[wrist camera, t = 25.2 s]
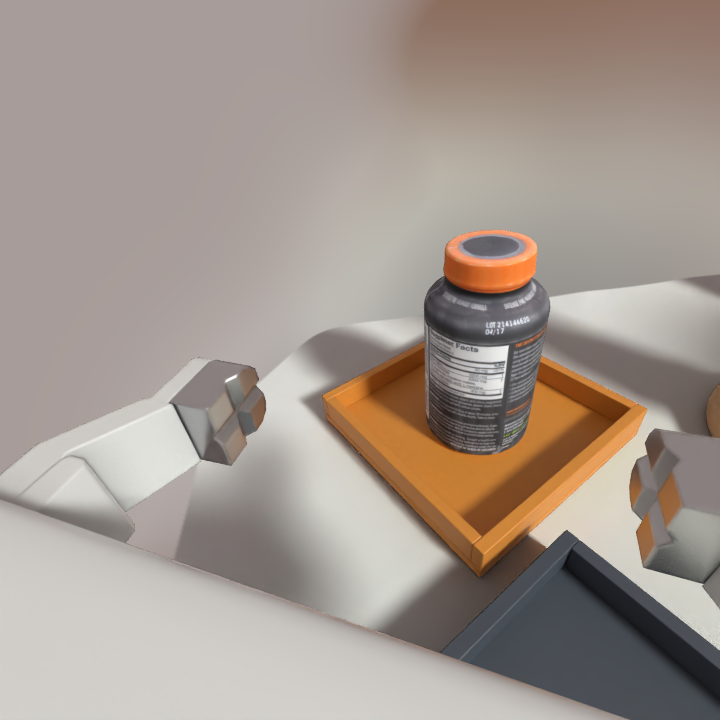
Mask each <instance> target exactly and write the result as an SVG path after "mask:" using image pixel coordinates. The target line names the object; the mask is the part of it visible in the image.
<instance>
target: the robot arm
mask: <svg viewBox="0 0 720 720" xmlns="http://www.w3.org/2000/svg"><path fill="white" fill-rule="evenodd" d="M258 380H259V378H258V375H257V372H256V370H255V368H253V367H251V366H247V365H242V364H236V363H231V362H225V361H220V360H211V359H206V358H201V357H198V358H194V359H191V361H189V362H188V363H187V364H186V365H185V366H184V367H183V368H182V369H181V370H180V371H179V372H178V373H177V374H176V375H174V376H173V377H172V378H171V379H170V380H169V381H168V382H167V383H166V384H165V385H164V386H163V387H162V388H161V389H160V390H158V391H157V392H156V393H155V394H154V395H153V396H152V397H151V398H150V399H141V400H139V401H137V402H134V403H132V404H130V405H127V406H125V407H123V408H120V409H118V410H116V411H113V412H111V413H109V414H106V415H104V416H101V417H100V418H97V419H95V420H92V421H90V422H88V423H85V424H83V425H80V426H78V427H76V428H74V429H71V430H69V431H66V432H64V433H62V434H59V435H57V436H55V437H52V438H50V439H48V440H46V441H43V442H41V443H38V444H36V445H35V446H34V447H33V448H31V449H30V450H29V451H28V452H27V453H25V454H24V455H23V456H22V457H21V458H19V459H18V460H17V461H16V462H15V463H13V464H12V465H11V466H10V467H9V468H7V469H6V470H5V471H4V472H2V473H1V474H0V720H629V719H626V718H623V717H620V716H617V715H615V714H612V713H609V712H606V711H603V710H600V709H597V708H595V707H592V706H589V705H586V704H583V703H580V702H577V701H575V700H572V699H569V698H566V697H563V696H560V695H557V694H555V693H552V692H549V691H546V690H543V689H540V688H537V687H535V686H532V685H529V684H526V683H523V682H520V681H518V680H515V679H512V678H509V677H506V676H503V675H500V674H498V673H495V672H492V671H489V670H486V669H483V668H480V667H478V666H475V665H472V664H469V663H466V662H463V661H460V660H458V659H455V658H452V657H449V656H446V655H443V654H440V653H438V652H435V651H432V650H429V649H426V648H423V647H420V646H418V645H415V644H412V643H409V642H406V641H403V640H400V639H398V638H395V637H392V636H389V635H386V634H383V633H381V632H378V631H375V630H372V629H369V628H366V627H363V626H361V625H358V624H355V623H352V622H349V621H346V620H343V619H341V618H338V617H335V616H332V615H329V614H326V613H323V612H321V611H318V610H315V609H312V608H309V607H306V606H303V605H301V604H298V603H295V602H292V601H289V600H286V599H283V598H281V597H278V596H275V595H272V594H269V593H266V592H263V591H261V590H258V589H255V588H252V587H249V586H246V585H244V584H241V583H238V582H235V581H232V580H229V579H226V578H224V577H221V576H218V575H215V574H212V573H209V572H206V571H203V570H201V569H198V568H195V567H192V566H189V565H186V564H183V563H181V562H178V561H175V560H172V559H169V558H166V557H163V556H160V555H158V554H155V553H152V552H149V551H146V550H143V549H140V548H138V547H135V546H132V545H129V544H126V541H127V540H128V539H129V537H130V536H131V535H132V534H133V532H134V531H135V524H134V523H133V522H132V521H131V519H130V518H129V517H128V515H127V514H126V513H125V512H126V511H128V510H129V509H131V508H132V507H134V506H135V505H137V504H138V503H140V502H141V501H143V500H144V499H146V498H147V497H149V496H150V495H152V494H153V493H155V492H156V491H158V490H159V489H160V488H162V487H164V486H165V485H166V484H168V483H169V482H171V481H172V480H174V479H175V478H177V477H178V476H180V475H181V474H183V473H184V472H186V471H187V470H189V469H190V468H192V467H193V466H195V465H196V464H198V463H199V462H201V460H200V459H202V460H206V461H211V462H216V463H220V464H225V465H230V466H232V464H233V463H234V462H235V460H236V459H237V457H238V456H239V455H240V453H241V452H242V450H243V449H244V448H245V446H246V445H247V441H246V436H248V435H249V434H251V433H253V432H255V431H257V429H258V428H259V426H260V425H261V423H262V422H263V418H264V415H265V412H266V400H265V397H264V393H263V392H262V391H261V390H260V389H259V388H258V387H257V386H256V384H257V382H258ZM645 446H646V450H647V454H648V455H645V456H643V457H641V458H639V459H637V460H636V463H635V465H634V467H633V470H632V473H631V479H630V485H629V489H630V501H631V507H632V510H633V511H634V512H635V514H636V515H637V516H638V517H639V518H640V519H641V520H642V522H641V524H640V526H639V527H638V529H637V531H636V534H637V539H638V545H639V550H640V555H641V560H642V565H643V568H646V569H650V570H654V571H657V572H661V573H665V574H668V575H672V576H676V577H680V578H683V579H687V580H691V581H694V582H698V583H702V584H703V586H702V587H703V588H704V589H705V591H706V592H707V593H708V594H709V596H710V597H711V598H712V600H713V601H714V602H715V603H716V605H717V606H718V607H719V609H720V438H717V437H710V436H703V435H696V434H689V433H683V432H676V431H669V430H662V429H656V428H655V429H654V430H653V431H652V432H651V433H650V434H649V436H648V438H647V440H646V442H645Z"/></svg>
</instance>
